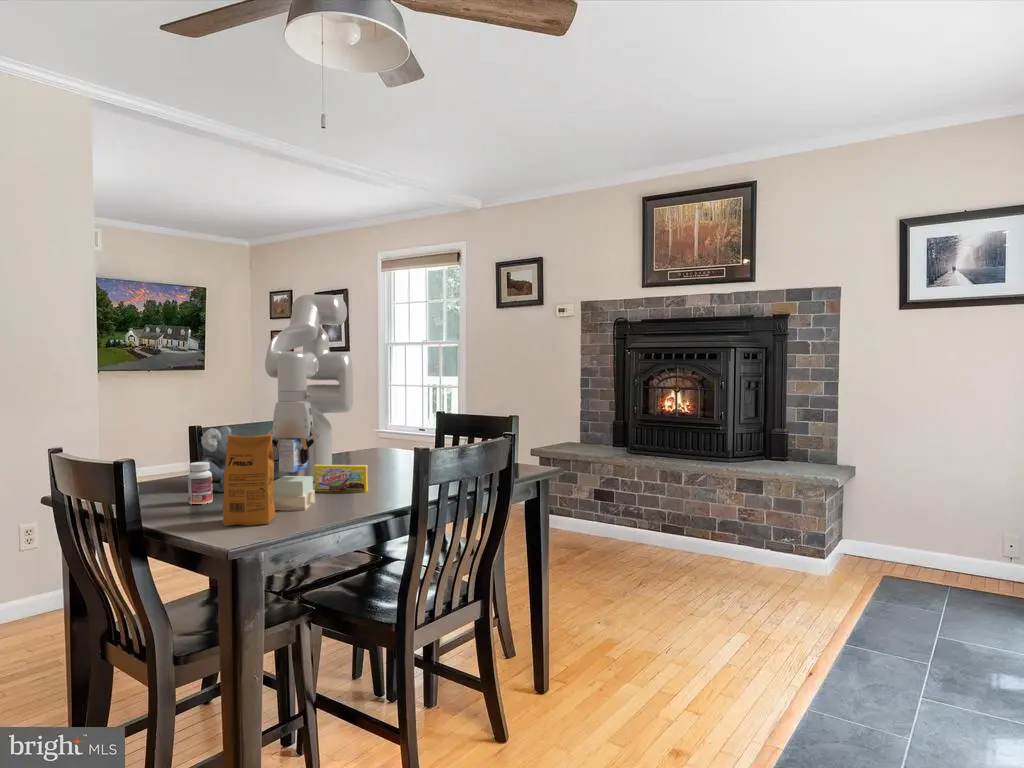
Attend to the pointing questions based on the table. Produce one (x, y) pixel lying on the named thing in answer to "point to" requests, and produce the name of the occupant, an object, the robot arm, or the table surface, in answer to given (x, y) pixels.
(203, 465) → the pill bottle
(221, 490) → the koala plush
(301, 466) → the medicine box
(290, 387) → the robot arm
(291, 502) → the maple block
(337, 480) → the candy box
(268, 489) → the coffee package
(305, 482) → the sage block
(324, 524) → the table surface
